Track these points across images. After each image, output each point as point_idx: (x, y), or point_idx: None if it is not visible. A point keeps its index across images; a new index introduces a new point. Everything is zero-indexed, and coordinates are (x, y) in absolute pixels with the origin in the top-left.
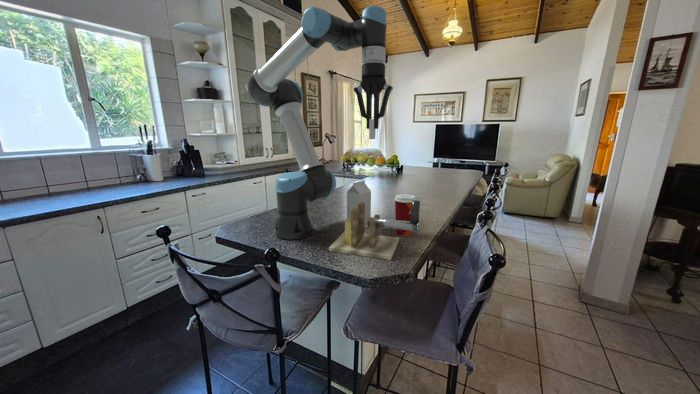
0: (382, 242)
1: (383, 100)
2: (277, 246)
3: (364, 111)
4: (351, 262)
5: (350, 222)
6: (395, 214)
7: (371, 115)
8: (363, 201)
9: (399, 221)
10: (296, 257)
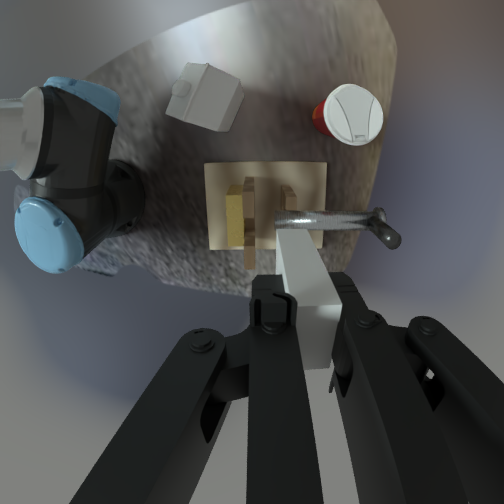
0: (298, 197)
1: (467, 483)
2: (126, 259)
3: (196, 392)
4: (262, 271)
5: (239, 242)
6: (319, 122)
7: (298, 342)
8: (227, 116)
9: (345, 227)
10: (176, 282)
